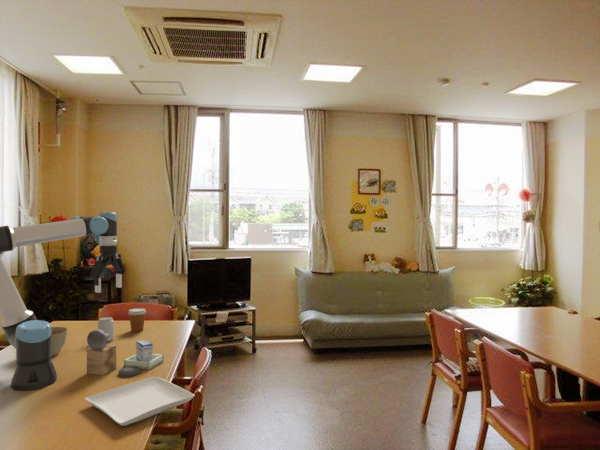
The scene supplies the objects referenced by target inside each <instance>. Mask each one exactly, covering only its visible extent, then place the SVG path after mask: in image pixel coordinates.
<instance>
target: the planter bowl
mask: <svg viewBox="0 0 600 450" xmlns="http://www.w3.org/2000/svg"><path fill="white" fill-rule="evenodd" d="M51 330H52V333H51V357H52V356H55V355H59V354H60V353H61V350H62V348H63V347H64V345H65V344H66V340H67V337H68V331H69V330H68V327H64V326H51Z"/></svg>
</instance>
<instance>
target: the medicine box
mask: <svg viewBox="0 0 600 450" xmlns="http://www.w3.org/2000/svg"><path fill="white" fill-rule="evenodd" d="M135 347H136V349H135V352H136V353H135V354H136V360H137V361H144V362H149V361H151V360H153V354H154V353H153V351H154V350H153V349H154V348H153V347H154V345H153V342H152V343H151V342H150V341H149V340H147V339H142V340H137V341H136V346H135Z"/></svg>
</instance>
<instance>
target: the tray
mask: <svg viewBox="0 0 600 450" xmlns="http://www.w3.org/2000/svg"><path fill="white" fill-rule="evenodd" d="M164 359H165V358H164V354H159V353H153V360H151V361H149V362H144V361H137V360H136V353H135V354H133V355H131V356H130V357H127V358H125V359H124V360H123V368H125V367H139V370H140V369H141V370H147V371H148V370H151V369H153V368H154V367H156V366H158V365H160V364H162V363H163V362H164V361H165V360H164Z"/></svg>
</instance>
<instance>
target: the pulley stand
mask: <svg viewBox="0 0 600 450" xmlns="http://www.w3.org/2000/svg"><path fill="white" fill-rule="evenodd" d="M109 336H110V335H109V334H108V333H107V334H105V332H104V331H102V330H99V329H98V328H97V329H95V330H92V331H89V332H88V335H87V338H86V341H87V345H88V347H89V348H87V349H86V374H90V375H98V376H104V375H106V374H108V373H110V372H112V371H114V370H117V344H116V345H114V344H107V343H108V342H107V338H109Z"/></svg>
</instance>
